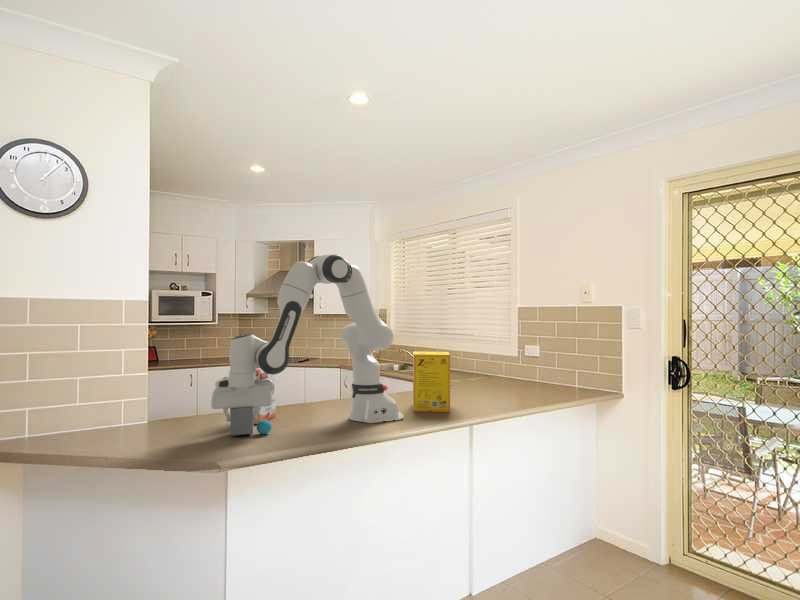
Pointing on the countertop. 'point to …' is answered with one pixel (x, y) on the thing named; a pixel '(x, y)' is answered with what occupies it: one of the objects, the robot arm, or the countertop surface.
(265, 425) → the ball
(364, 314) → the robot arm
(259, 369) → the cracker box
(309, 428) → the countertop surface
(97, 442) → the countertop surface
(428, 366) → the packaging box
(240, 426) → the gray faceted wedge
